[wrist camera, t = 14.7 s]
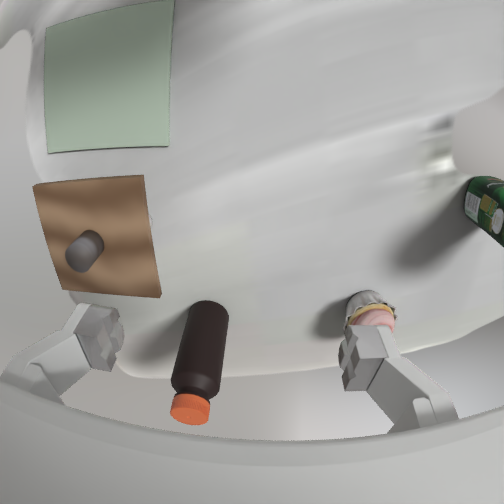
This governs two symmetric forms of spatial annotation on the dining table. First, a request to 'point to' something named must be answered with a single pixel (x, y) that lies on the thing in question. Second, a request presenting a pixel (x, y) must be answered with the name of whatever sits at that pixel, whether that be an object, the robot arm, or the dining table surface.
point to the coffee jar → (486, 205)
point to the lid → (100, 235)
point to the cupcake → (369, 310)
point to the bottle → (199, 362)
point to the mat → (109, 78)
